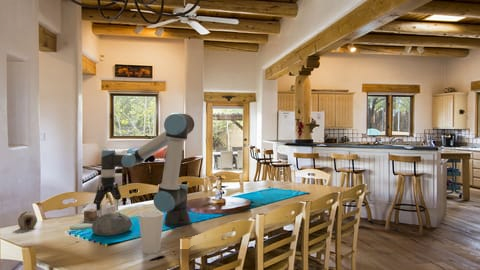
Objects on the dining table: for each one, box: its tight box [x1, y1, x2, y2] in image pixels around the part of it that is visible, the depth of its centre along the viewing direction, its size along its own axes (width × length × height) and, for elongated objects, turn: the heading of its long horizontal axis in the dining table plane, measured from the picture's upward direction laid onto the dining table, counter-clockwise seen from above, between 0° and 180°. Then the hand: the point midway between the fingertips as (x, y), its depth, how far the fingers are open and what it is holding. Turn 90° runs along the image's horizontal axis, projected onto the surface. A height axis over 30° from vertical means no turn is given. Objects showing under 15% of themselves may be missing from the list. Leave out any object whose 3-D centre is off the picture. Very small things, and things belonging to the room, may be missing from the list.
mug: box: [99, 204, 116, 217], centre depth 203 cm, size 9×12×11 cm
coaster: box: [69, 222, 93, 231], centre depth 199 cm, size 12×12×1 cm
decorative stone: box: [91, 211, 133, 236], centre depth 189 cm, size 18×21×10 cm
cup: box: [138, 210, 165, 255], centre depth 159 cm, size 11×10×17 cm
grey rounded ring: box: [17, 211, 38, 231], centre depth 197 cm, size 9×8×10 cm
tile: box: [78, 218, 94, 224], centre depth 215 cm, size 11×11×1 cm
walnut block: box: [83, 208, 99, 221], centre depth 215 cm, size 6×6×6 cm
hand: (107, 213), depth 203 cm, fingers open, 13 cm apart
